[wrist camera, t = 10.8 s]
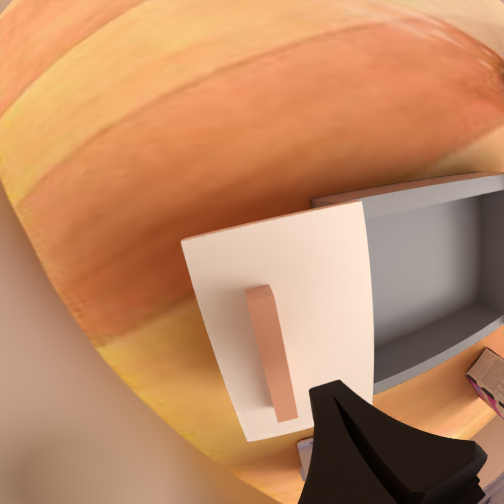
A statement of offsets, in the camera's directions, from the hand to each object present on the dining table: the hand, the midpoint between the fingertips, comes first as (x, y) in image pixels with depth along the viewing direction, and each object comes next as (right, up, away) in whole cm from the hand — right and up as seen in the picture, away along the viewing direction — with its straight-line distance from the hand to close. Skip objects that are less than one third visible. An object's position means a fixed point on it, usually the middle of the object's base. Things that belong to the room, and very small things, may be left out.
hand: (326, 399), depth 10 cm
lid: (-1, +1, +5) cm, 5 cm away
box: (+11, +5, +11) cm, 16 cm away
